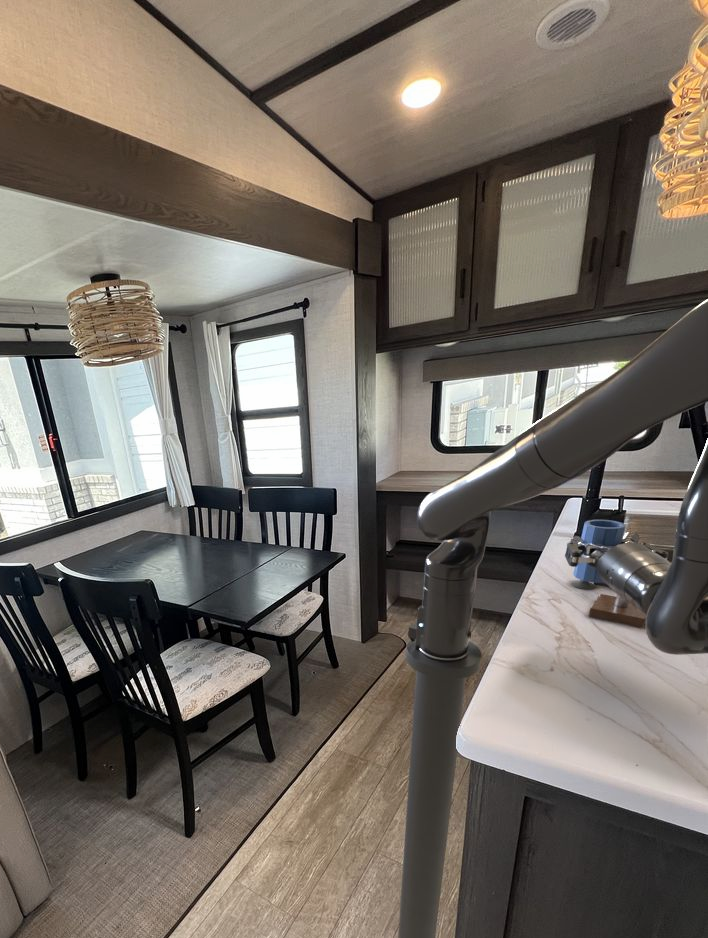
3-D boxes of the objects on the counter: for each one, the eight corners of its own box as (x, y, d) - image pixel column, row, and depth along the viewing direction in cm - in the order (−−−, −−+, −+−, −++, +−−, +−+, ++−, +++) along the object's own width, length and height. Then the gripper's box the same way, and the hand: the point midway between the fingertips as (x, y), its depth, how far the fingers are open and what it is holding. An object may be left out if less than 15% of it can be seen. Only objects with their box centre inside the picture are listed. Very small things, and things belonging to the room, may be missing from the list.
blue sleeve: (569, 578, 86) (581, 525, 82) (577, 569, 89) (589, 518, 85) (608, 585, 82) (622, 530, 78) (614, 575, 86) (628, 522, 82)
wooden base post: (588, 616, 97) (601, 558, 92) (597, 601, 103) (611, 546, 98) (642, 628, 92) (659, 566, 86) (649, 611, 97) (666, 553, 92)
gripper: (702, 551, 67) (645, 521, 82) (589, 550, 71) (553, 521, 86) (687, 598, 70) (634, 561, 85) (578, 595, 74) (546, 560, 89)
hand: (594, 541), depth 85 cm, fingers closed on blue sleeve, 5 cm apart
